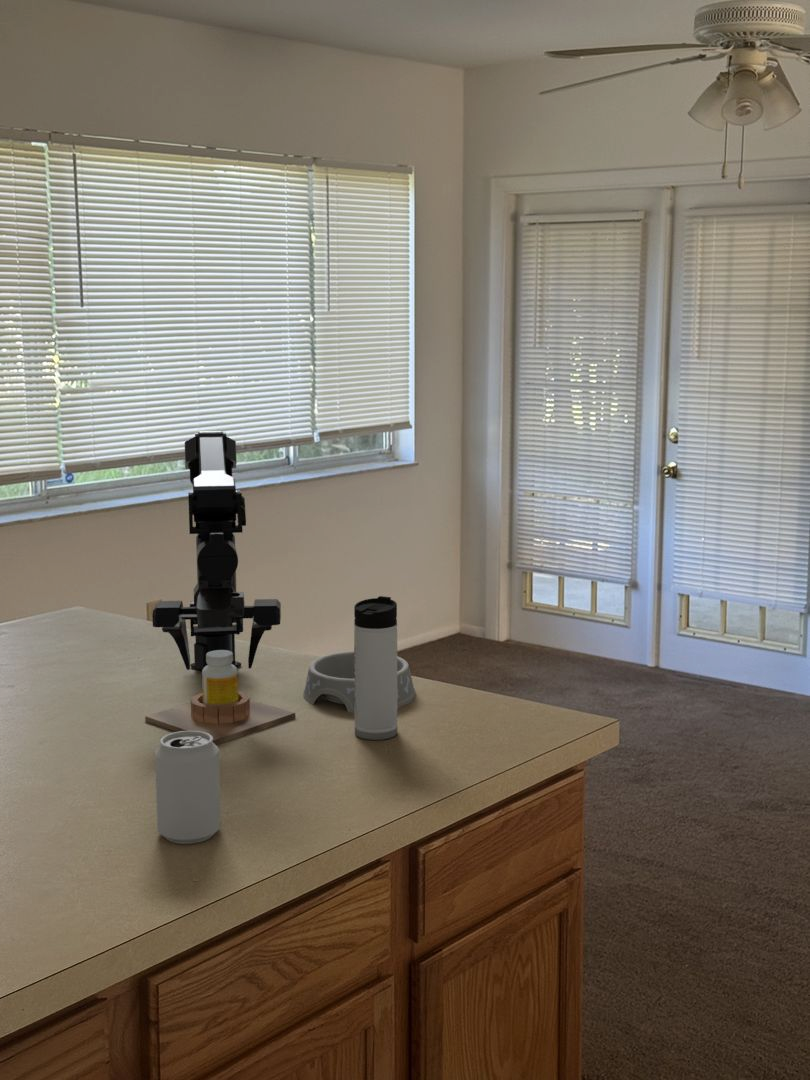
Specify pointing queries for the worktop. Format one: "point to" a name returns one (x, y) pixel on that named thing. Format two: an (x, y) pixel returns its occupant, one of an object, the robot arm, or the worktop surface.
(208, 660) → the supplement bottle
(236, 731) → the collar board
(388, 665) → the travel mug
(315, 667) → the dog bowl
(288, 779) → the worktop surface
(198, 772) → the can
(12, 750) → the worktop surface
